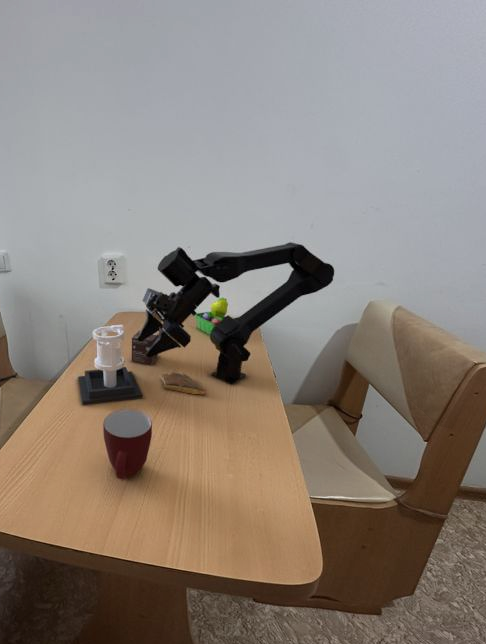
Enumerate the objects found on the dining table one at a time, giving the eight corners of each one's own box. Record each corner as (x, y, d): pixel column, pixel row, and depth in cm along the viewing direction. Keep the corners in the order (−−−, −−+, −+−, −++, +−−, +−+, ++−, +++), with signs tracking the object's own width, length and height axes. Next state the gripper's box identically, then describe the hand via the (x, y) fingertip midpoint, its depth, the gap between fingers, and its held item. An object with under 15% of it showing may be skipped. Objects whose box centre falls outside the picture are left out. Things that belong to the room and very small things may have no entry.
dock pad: (131, 374, 98) (131, 364, 97) (142, 398, 87) (142, 387, 86) (78, 379, 95) (77, 370, 94) (82, 405, 84) (81, 394, 83)
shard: (205, 396, 88) (206, 389, 87) (177, 403, 85) (177, 396, 84) (182, 376, 97) (182, 369, 96) (155, 381, 94) (156, 375, 93)
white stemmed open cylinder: (128, 388, 89) (127, 330, 83) (100, 394, 87) (97, 334, 81) (119, 375, 95) (117, 320, 89) (92, 380, 93) (89, 324, 87)
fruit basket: (192, 327, 129) (194, 296, 124) (213, 323, 132) (216, 292, 127) (212, 339, 119) (215, 305, 114) (234, 334, 123) (238, 301, 118)
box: (131, 361, 105) (130, 337, 102) (138, 353, 110) (138, 330, 107) (151, 365, 103) (152, 340, 99) (158, 356, 108) (159, 333, 105)
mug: (150, 499, 59) (152, 449, 55) (100, 497, 60) (98, 447, 56) (150, 454, 69) (152, 409, 65) (107, 453, 69) (106, 408, 65)
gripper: (153, 267, 91) (111, 315, 93) (177, 286, 74) (125, 343, 77) (183, 296, 95) (142, 340, 98) (212, 320, 78) (162, 373, 81)
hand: (142, 348), depth 88 cm, fingers open, 9 cm apart
